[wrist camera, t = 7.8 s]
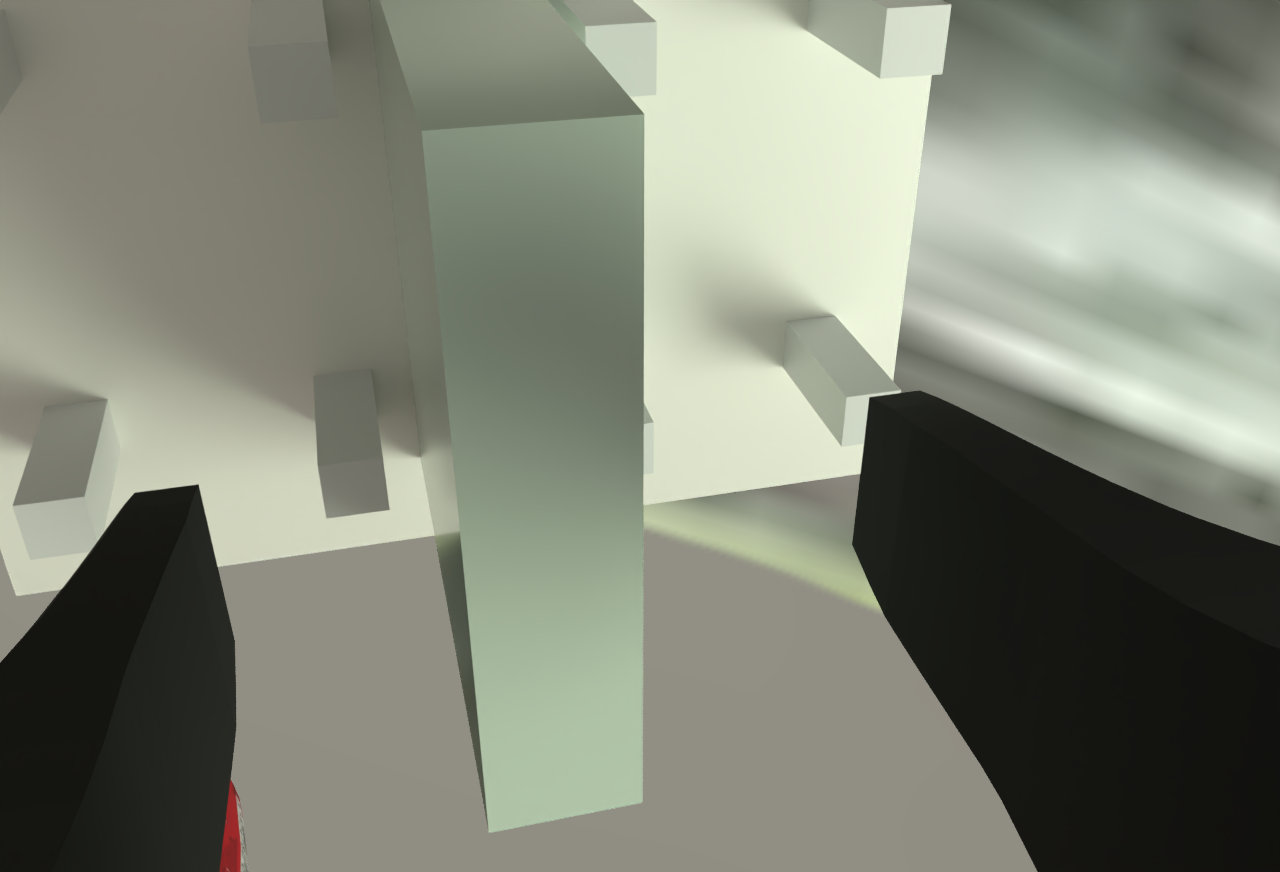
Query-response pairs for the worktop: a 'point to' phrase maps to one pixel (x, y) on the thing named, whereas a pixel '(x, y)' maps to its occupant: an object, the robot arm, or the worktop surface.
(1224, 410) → the worktop surface
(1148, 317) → the worktop surface
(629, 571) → the pale green tall block
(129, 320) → the rack
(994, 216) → the worktop surface
